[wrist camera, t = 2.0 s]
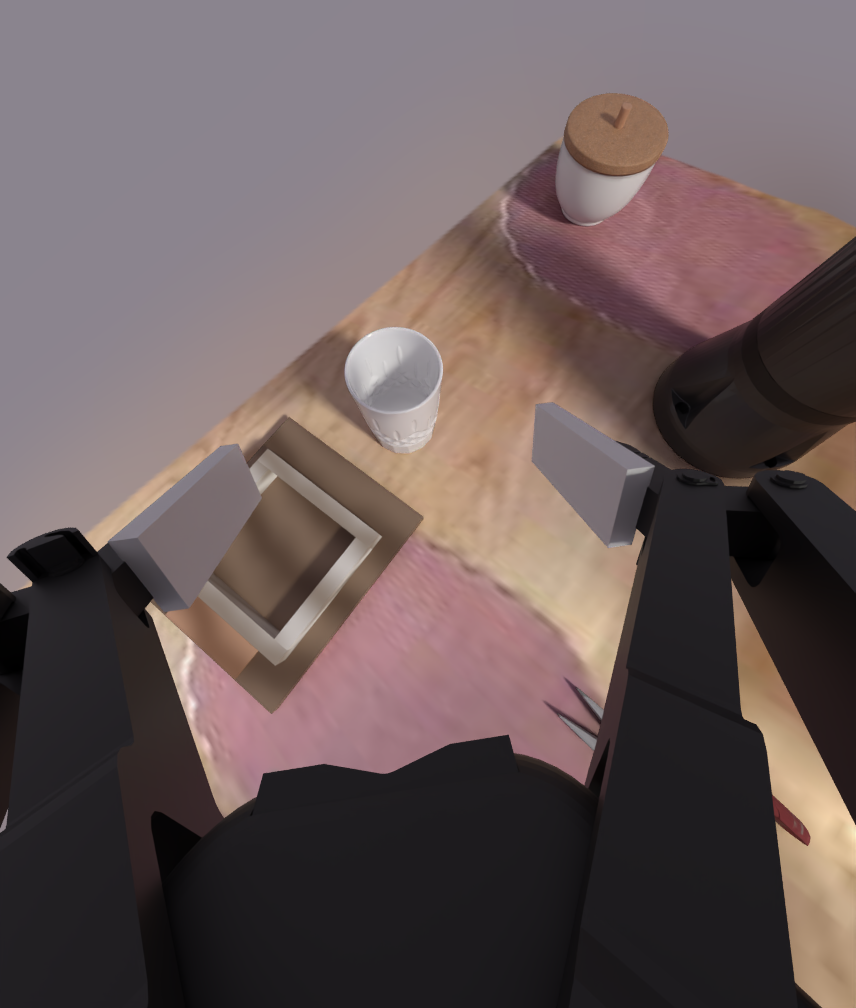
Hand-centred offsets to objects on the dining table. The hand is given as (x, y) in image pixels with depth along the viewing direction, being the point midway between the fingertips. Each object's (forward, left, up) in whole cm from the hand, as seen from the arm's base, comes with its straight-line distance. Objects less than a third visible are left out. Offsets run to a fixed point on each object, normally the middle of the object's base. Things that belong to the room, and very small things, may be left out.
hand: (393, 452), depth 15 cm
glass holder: (+10, -9, -19) cm, 23 cm away
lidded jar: (-46, -8, -19) cm, 50 cm away
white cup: (-8, -8, -19) cm, 22 cm away
